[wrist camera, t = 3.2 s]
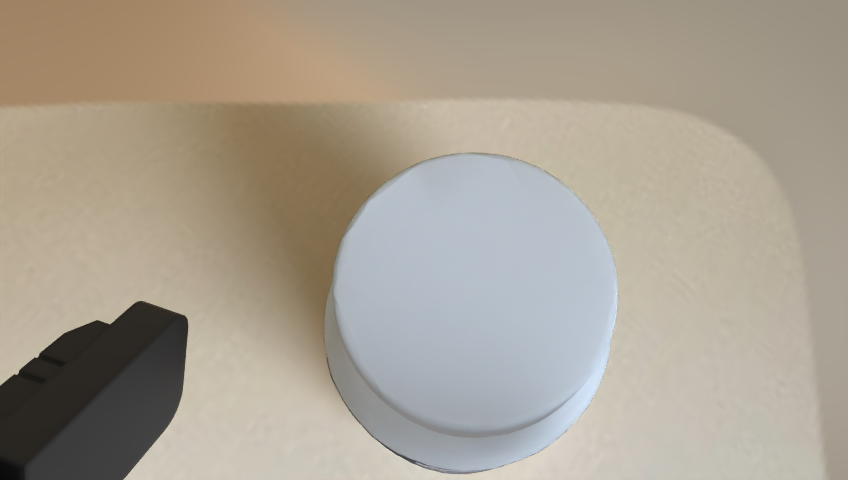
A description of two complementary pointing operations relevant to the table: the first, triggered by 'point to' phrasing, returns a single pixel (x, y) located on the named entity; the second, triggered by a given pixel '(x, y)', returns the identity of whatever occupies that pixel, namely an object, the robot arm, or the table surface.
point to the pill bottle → (470, 312)
